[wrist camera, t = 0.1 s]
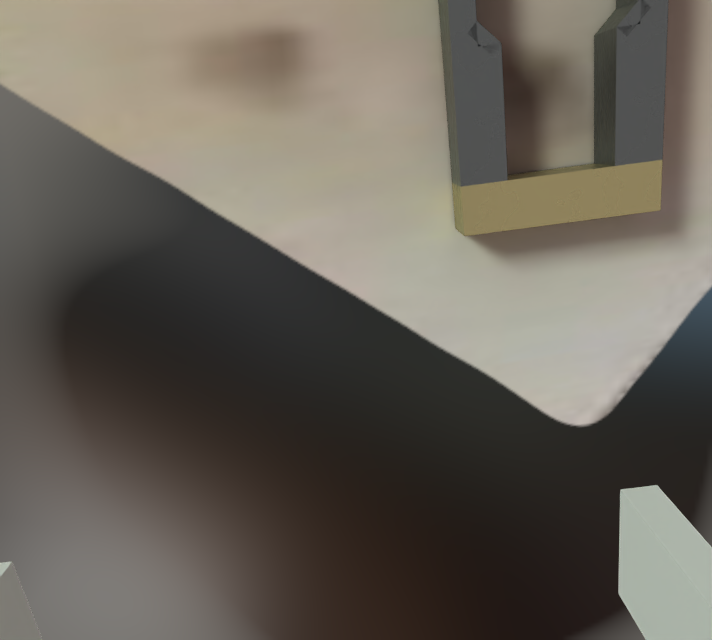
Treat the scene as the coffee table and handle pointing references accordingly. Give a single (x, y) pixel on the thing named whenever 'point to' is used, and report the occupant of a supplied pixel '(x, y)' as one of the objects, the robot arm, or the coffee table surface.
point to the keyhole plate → (611, 126)
